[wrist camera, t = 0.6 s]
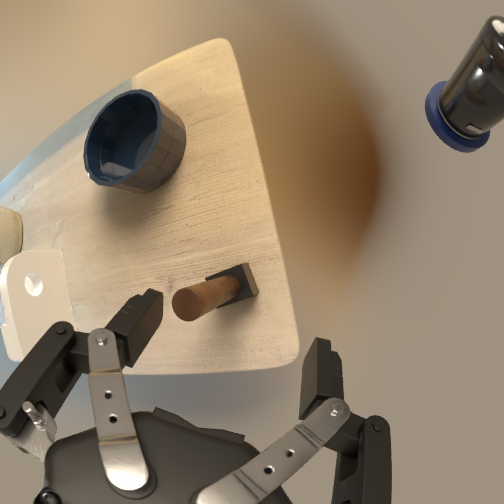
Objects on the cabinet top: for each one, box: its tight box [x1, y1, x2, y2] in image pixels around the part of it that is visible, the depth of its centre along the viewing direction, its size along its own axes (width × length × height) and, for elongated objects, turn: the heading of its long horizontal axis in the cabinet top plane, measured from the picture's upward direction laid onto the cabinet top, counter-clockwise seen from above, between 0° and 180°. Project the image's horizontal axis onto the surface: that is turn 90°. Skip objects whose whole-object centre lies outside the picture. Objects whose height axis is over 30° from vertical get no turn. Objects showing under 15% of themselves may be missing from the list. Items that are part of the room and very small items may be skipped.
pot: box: [83, 89, 186, 194], centre depth 35 cm, size 14×14×7 cm
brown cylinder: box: [172, 263, 259, 321], centre depth 29 cm, size 5×4×14 cm
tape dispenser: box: [0, 250, 78, 361], centre depth 38 cm, size 18×12×14 cm, turn 13°
